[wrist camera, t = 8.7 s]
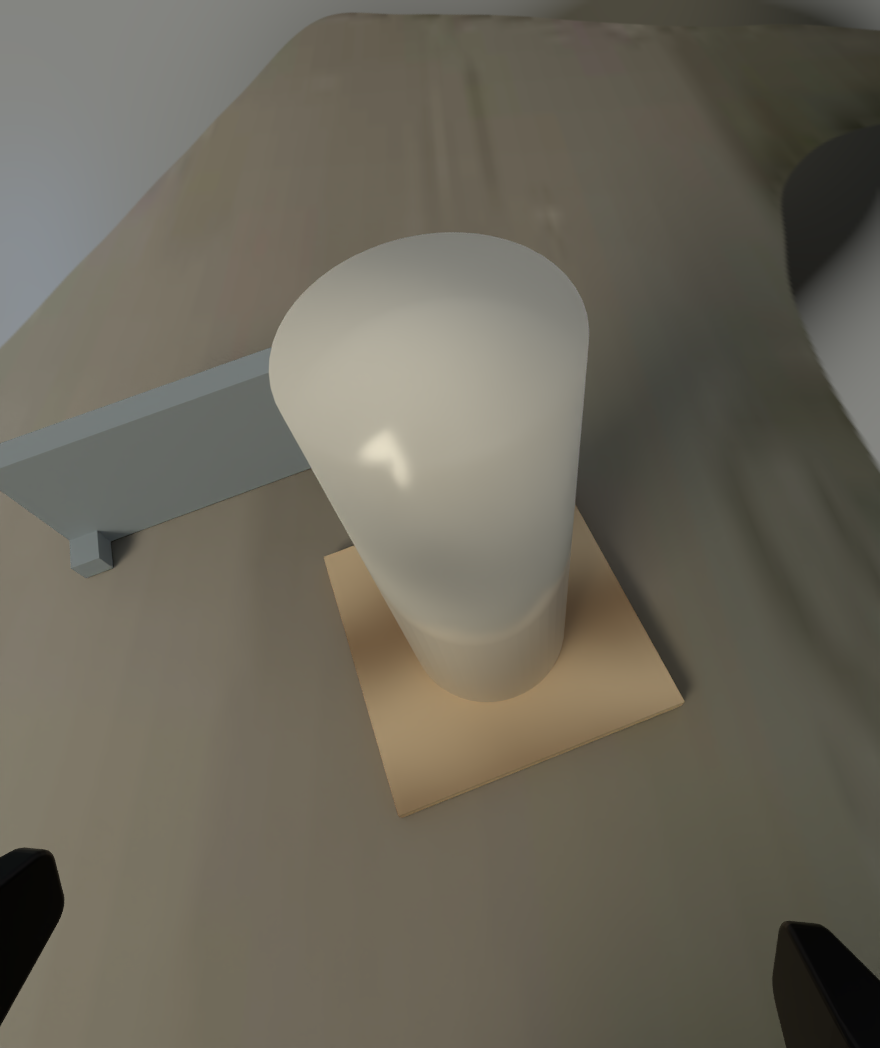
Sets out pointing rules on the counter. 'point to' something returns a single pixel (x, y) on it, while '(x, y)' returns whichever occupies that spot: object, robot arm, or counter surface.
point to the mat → (511, 725)
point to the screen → (152, 458)
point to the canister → (448, 442)
